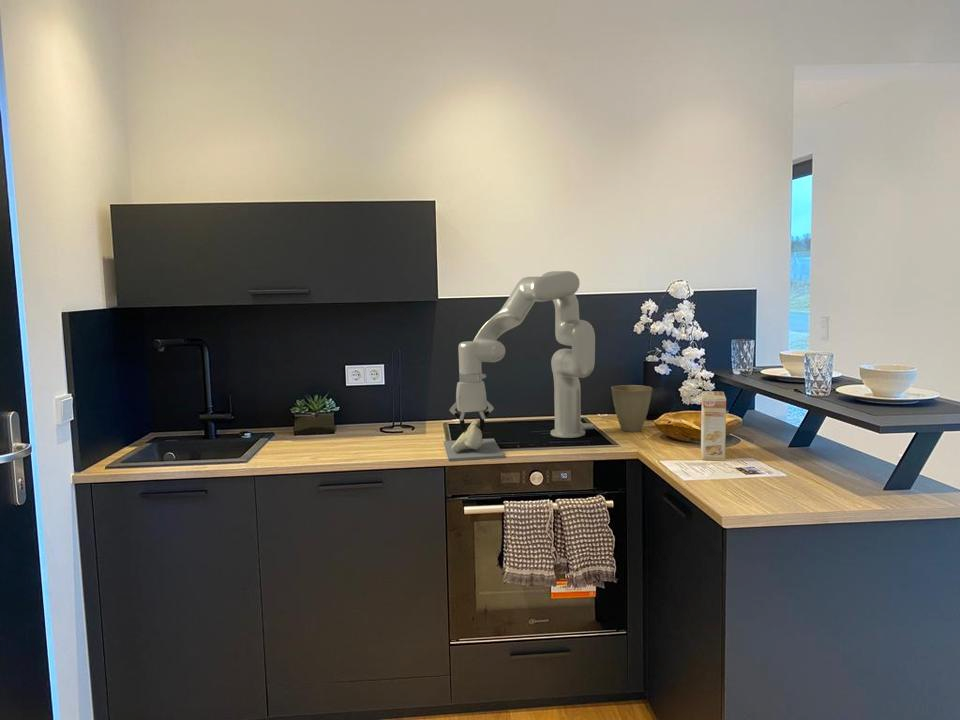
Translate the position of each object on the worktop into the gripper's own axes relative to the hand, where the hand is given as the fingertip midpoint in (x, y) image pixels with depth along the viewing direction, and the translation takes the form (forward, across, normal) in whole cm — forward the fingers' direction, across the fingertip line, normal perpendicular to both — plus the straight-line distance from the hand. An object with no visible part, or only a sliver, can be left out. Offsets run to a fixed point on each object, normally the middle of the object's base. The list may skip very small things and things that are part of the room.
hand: (472, 430), depth 235 cm
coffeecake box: (+7, -75, +23) cm, 79 cm away
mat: (+7, 0, 0) cm, 7 cm away
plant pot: (+7, -62, -17) cm, 64 cm away
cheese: (+6, +2, 0) cm, 6 cm away
